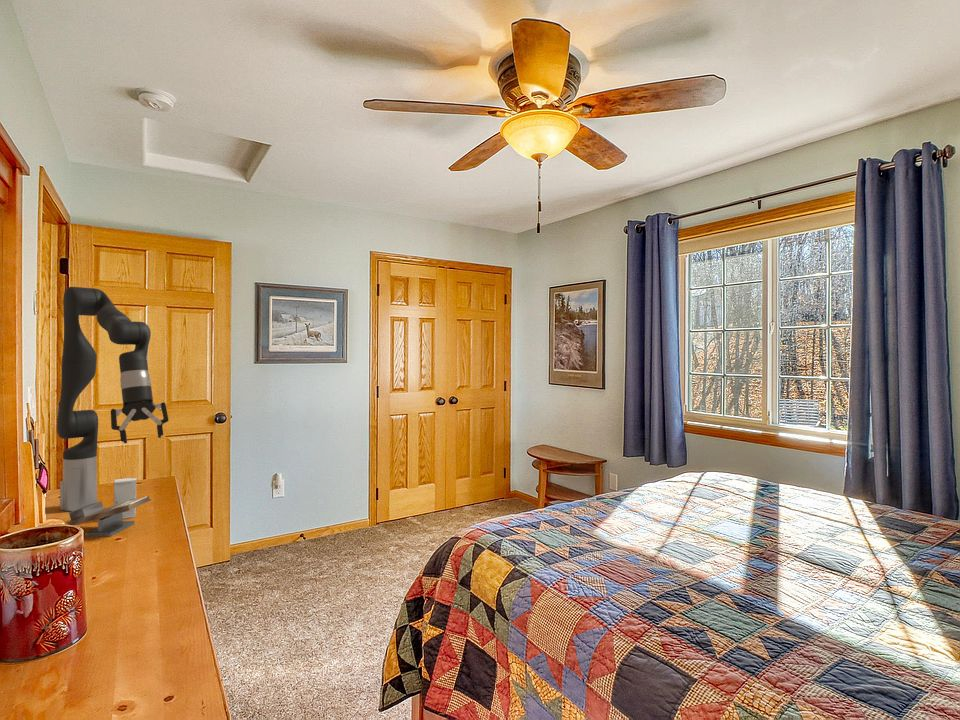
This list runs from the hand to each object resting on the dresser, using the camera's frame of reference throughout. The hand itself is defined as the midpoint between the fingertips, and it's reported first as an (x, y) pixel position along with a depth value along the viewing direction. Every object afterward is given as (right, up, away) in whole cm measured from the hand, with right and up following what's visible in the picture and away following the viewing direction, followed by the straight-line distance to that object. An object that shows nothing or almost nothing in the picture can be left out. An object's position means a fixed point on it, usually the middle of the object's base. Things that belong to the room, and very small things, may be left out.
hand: (142, 440), depth 155 cm
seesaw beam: (-10, -22, +1) cm, 24 cm away
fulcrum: (-10, -27, +1) cm, 29 cm away
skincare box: (-15, -27, +14) cm, 34 cm away
